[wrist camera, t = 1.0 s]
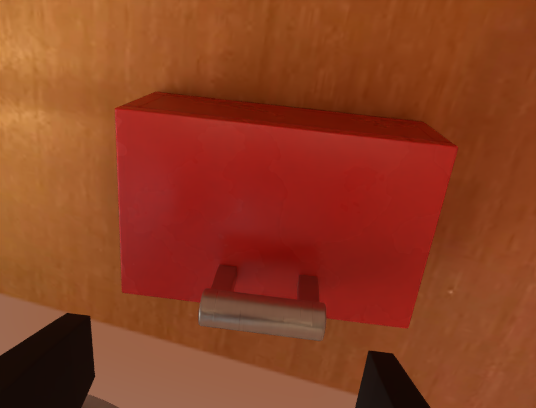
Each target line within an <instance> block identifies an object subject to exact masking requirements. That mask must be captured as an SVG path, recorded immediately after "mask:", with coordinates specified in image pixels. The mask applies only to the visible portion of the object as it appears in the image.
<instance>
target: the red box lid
mask: <svg viewBox="0 0 536 408" xmlns="http://www.w3.org/2000/svg"><path fill="white" fill-rule="evenodd" d="M115 123H116V149H117V176H118V202H119V228H120V254H121V280H122V292H123V293H129V294H137V295H145V296H153V297H161V298H169V299H177V300H185V301H193V302H200V306H199V314H198V321H199V325H201V326H207V327H214V328H222V329H230V330H238V331H246V332H254V333H262V334H269V335H277V336H285V337H293V338H301V339H309V340H317V341H321V340H322V339H323V337H324V333H325V327H326V318H328V319H336V320H344V321H352V322H360V323H368V324H376V325H384V326H392V327H400V328H408V327H409V324H410V320H411V316H412V313H413V309H414V306H415V302H416V298H417V295H418V291H419V288H420V284H421V280H422V277H423V273H424V270H425V266H426V262H427V259H428V255H429V252H430V248H431V244H432V241H433V237H434V234H435V230H436V226H437V223H438V219H439V216H440V212H441V208H442V205H443V201H444V198H445V194H446V190H447V187H448V183H449V180H450V176H451V172H452V169H453V165H454V161H455V158H456V154H457V151H458V147H457V146H456V145H455V144H453V143H445V142H436V141H427V140H418V139H409V138H401V137H392V136H383V135H374V134H365V133H357V132H348V131H339V130H330V129H321V128H312V127H304V126H295V125H286V124H277V123H268V122H260V121H251V120H242V119H233V118H224V117H216V116H207V115H198V114H189V113H180V112H171V111H163V110H154V109H145V108H136V107H127V106H119V107H117V108H115Z"/></svg>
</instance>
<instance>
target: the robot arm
mask: <svg viewBox="0 0 536 408" xmlns="http://www.w3.org/2000/svg"><path fill="white" fill-rule="evenodd" d="M94 378H95V371H94V359H93V347H92V334H91V321H90V316H87V315H79V314H71V313H66V314H65V315H63V316H61V317H60V318H58V319H57V320H55V321H53V322H52V323H50V324H49V325H47V326H46V327H44V328H43V329H41V330H39V331H38V332H37V333H35V334H34V335H32V336H30V337H29V338H27V339H26V340H24V341H23V342H21V343H20V344H18V345H16V346H15V347H13V348H12V349H10V350H9V351H7V352H6V353H4V354H2V355H1V356H0V408H81V407H82V405H83V403H84V401H85V398H86V396H87V394H88V392H89V389H90V387H91V385H92V382H93V380H94ZM355 408H430V406H429V405H428V403H427V402H426V401H425V399H424V398H423V396H422V395H421V393H420V392H419V391H418V389H417V388H416V386H415V385H414V383H413V382H412V380H411V379H410V378H409V376H408V375H407V373H406V372H405V370H404V369H403V367H402V366H401V364H400V363H399V361H398V360H397V358H396V357H395V356H394V354H393V353H385V352H376V351H368V355H367V360H366V364H365V368H364V372H363V377H362V381H361V385H360V390H359V394H358V398H357V402H356V407H355Z"/></svg>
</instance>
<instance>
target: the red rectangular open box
mask: <svg viewBox="0 0 536 408" xmlns="http://www.w3.org/2000/svg"><path fill="white" fill-rule="evenodd" d="M122 106H127V107H136V108H145V109H154V110H163V111H171V112H180V113H189V114H198V115H207V116H216V117H224V118H233V119H242V120H251V121H260V122H268V123H277V124H286V125H295V126H304V127H312V128H321V129H330V130H339V131H348V132H357V133H365V134H374V135H383V136H392V137H401V138H409V139H418V140H427V141H436V142H445V143H452V142H450V141H449V140H447V139H446V138H445V137H443V136H442V135H441V134H439V133H438V132H436V131H435V130H434V129H432V128H431V127H430V126H428V125H427V124H425V123H424V122H420V121H411V120H402V119H394V118H385V117H376V116H367V115H358V114H349V113H340V112H331V111H322V110H313V109H304V108H296V107H287V106H278V105H269V104H260V103H251V102H242V101H233V100H224V99H215V98H207V97H198V96H189V95H180V94H171V93H162V92H154V93H151V94H149V95H146V96H144V97H142V98H139V99H137V100H134V101H132V102H129V103H127V104H125V105H122Z"/></svg>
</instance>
